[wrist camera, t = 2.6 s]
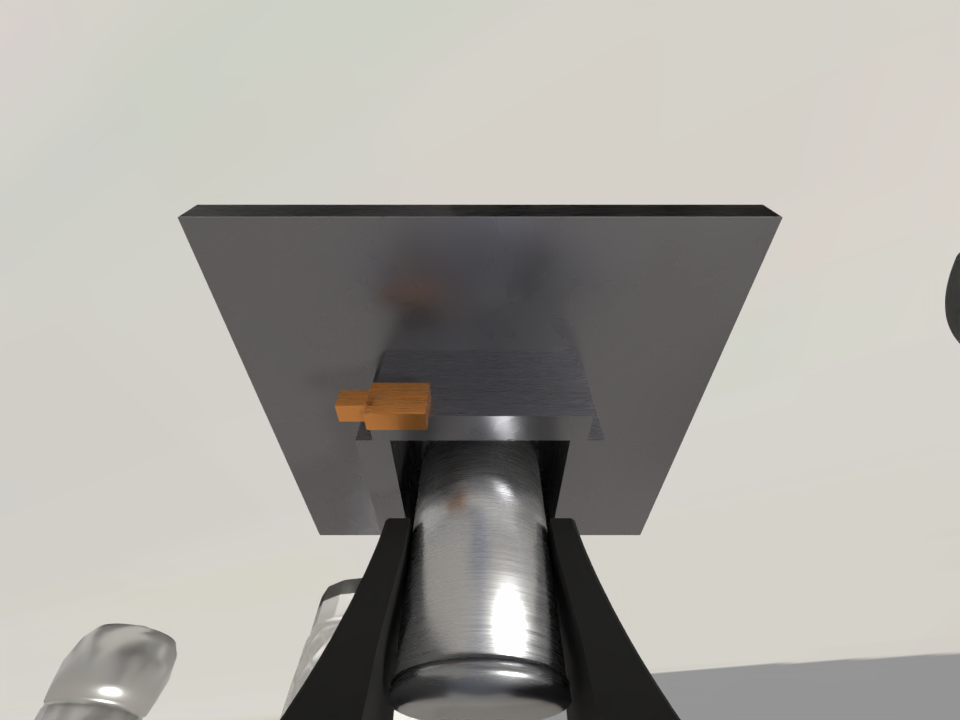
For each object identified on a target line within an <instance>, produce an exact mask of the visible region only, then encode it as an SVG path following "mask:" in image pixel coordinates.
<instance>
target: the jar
mask: <svg viewBox="0 0 960 720" xmlns="http://www.w3.org/2000/svg"><path fill="white" fill-rule="evenodd" d="M945 313H946V319H947V322H948V325H949V328H950V330H951V332H952V334H953V336H954V337H955V338H956V340H957V341H958V342H959V343H960V253H959V254H958V255H957V256H956V259H955V261H954V264H953V266H952V269H951V272H950V275H949V279H948V283H947V288H946V294H945Z"/></svg>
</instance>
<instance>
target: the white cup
mask: <svg viewBox="0 0 960 720" xmlns="http://www.w3.org/2000/svg"><path fill="white" fill-rule="evenodd" d="M361 579H362V578H357V579H348V580H343V581H341V582H338V583H336V584H333V585H331V586H329V587H328V588H327V590H326V591H325V593H324V594H323V596H322V598H321V601H320V604H319V607H318V610H317V613H316V617H315V620H314V623H313V626H312V630H311V635H310V636H309V637H308V638H307V640H306V643H305V645H304V648H303V651H302V655H301V658H300V660H299V663H298V666H297V669H296V672H295V674H294V677H293V680H292V683H291V686H290V689H289V692H288V695H287V698H286V701H285V704H284V707H283V711H282V714H281V717H282V716H283V714H284V713H285V711H286V710H287V708H288V707H289V705H290V704H291V702H292V701H293V699H294V698H295V696H296V695H297V693H298V692H299V690H300V688H301V687H302V685H303V684H304V682H305V681H306V679H307V678H308V676H309V674H310V673H311V671H312V669H313V668H314V666H315V665H316V663H317V661H318V660H319V658H320V656H321V655H322V653H323V651H324V649H325V648H326V646H327V644H328V643H329V641H330V639H331V637H332V635H333V634H334V632H335V630H336V628H337V626H338V624H339V623H340V621H341V619H342V617H343V615H344V613H345V611H346V610H347V608H348V606H349V604H350V602H351V600H352V598H353V596H354V594H355V592H356V590H357V588H358V586H359V584H360V581H361ZM281 717H280V719H281ZM393 720H418V719H415V718H411V717H408V716H406V715H403V714H401V713H399V712H397V711H396V710H394V717H393Z"/></svg>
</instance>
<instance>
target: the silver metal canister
mask: <svg viewBox="0 0 960 720" xmlns="http://www.w3.org/2000/svg"><path fill="white" fill-rule="evenodd" d="M421 458H422V467H421V474H420V482H419V490H418V497H417V505H416V512H415V520H414V528H413V535H412V543H411V550H410V558H409V565H408V573H407V581H406V588H405V596H404V603H403V611H402V619H401V626H400V634H399V641H398V649H397V657H396V664H395V672H394V677H393V679H392V680H391V685H390V693H389V700H388V701H389V704H390V706H391V707H392V708H393V709H394V710H396V711H397V712H399V713H401V714H403V715H406V716H408V717H411V718H415V719H418V720H542V719H546V718H549V717H552V716H555V715H557V714H559V713H561V712H563V711H565V710H566V709H567V708H568V707H569V706H570V705H571V702H572V698H571V691H570V684H569V680H568V679H567V677H566V670H565V663H564V655H563V648H562V640H561V632H560V625H559V617H558V610H557V602H556V594H555V587H554V579H553V572H552V564H551V557H550V549H549V541H548V534H547V526H546V519H545V511H544V504H543V496H542V488H541V481H540V473H539V466H538V459H539V448H538V441H537V440H423V442H422V449H421Z"/></svg>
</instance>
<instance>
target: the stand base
mask: <svg viewBox="0 0 960 720" xmlns="http://www.w3.org/2000/svg"><path fill="white" fill-rule="evenodd" d="M782 218H783V217H781V216H780V215H778V214H777V213H775V212H774V211H772V210H771V209H769V208H767V207H766V206H764V205H196V206H194V207H193V208H191V209H190V210H188V211H187V212H185V213H183V214H182V215H180V216H179V217H178V220H179V222H180V224H181V226H182V228H183V231H184V233H185V235H186V237H187V240H188V242H189V244H190V246H191V249H192V251H193V253H194V255H195V257H196V260H197V262H198V264H199V266H200V269H201V271H202V273H203V275H204V278H205V280H206V282H207V284H208V287H209V289H210V291H211V293H212V295H213V298H214V300H215V302H216V304H217V307H218V309H219V311H220V313H221V316H222V318H223V320H224V322H225V324H226V327H227V329H228V331H229V333H230V336H231V338H232V340H233V342H234V345H235V347H236V349H237V351H238V354H239V356H240V358H241V360H242V362H243V365H244V367H245V369H246V371H247V374H248V376H249V378H250V380H251V383H252V385H253V387H254V389H255V391H256V394H257V396H258V398H259V400H260V403H261V405H262V407H263V409H264V412H265V414H266V416H267V418H268V421H269V423H270V425H271V427H272V429H273V432H274V434H275V436H276V438H277V441H278V443H279V445H280V447H281V450H282V452H283V454H284V456H285V458H286V461H287V463H288V465H289V467H290V470H291V472H292V474H293V476H294V479H295V481H296V483H297V485H298V487H299V490H300V492H301V494H302V496H303V499H304V501H305V503H306V505H307V508H308V510H309V512H310V514H311V517H312V519H313V521H314V523H315V525H316V528H317V530H318V532H319V534H320V535H381V533H382V530H383V527H384V524H385V521H386V520H387V519H389V518H410V521H411V526H412V532H413V528H414V520H415V512H416V505H417V497H418V490H419V482H420V474H421V467H422V458H421V449H422V442H423V440H537V441H538V448H539V459H538V466H539V473H540V481H541V488H542V496H543V504H544V511H545V519H546V526H547V534H548V529H549V524H550V518H572V519H573V520H575V523H576V526H577V529H578V532H579V534H580V535H641V532H642V530H643V528H644V526H645V524H646V521H647V519H648V517H649V515H650V512H651V510H652V508H653V506H654V503H655V501H656V499H657V497H658V495H659V492H660V490H661V488H662V486H663V483H664V481H665V479H666V477H667V474H668V472H669V470H670V468H671V465H672V463H673V461H674V459H675V457H676V454H677V452H678V450H679V448H680V445H681V443H682V441H683V439H684V436H685V434H686V432H687V430H688V428H689V425H690V423H691V421H692V419H693V416H694V414H695V412H696V410H697V407H698V405H699V403H700V401H701V399H702V396H703V394H704V392H705V390H706V387H707V385H708V383H709V381H710V378H711V376H712V374H713V372H714V370H715V367H716V365H717V363H718V361H719V358H720V356H721V354H722V352H723V349H724V347H725V345H726V343H727V340H728V338H729V336H730V334H731V332H732V329H733V327H734V325H735V323H736V320H737V318H738V316H739V314H740V311H741V309H742V307H743V305H744V303H745V300H746V298H747V296H748V294H749V291H750V289H751V287H752V285H753V282H754V280H755V278H756V276H757V274H758V271H759V269H760V267H761V265H762V262H763V260H764V258H765V256H766V253H767V251H768V249H769V247H770V245H771V242H772V240H773V238H774V236H775V233H776V231H777V229H778V227H779V224H780V222H781V220H782Z"/></svg>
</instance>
